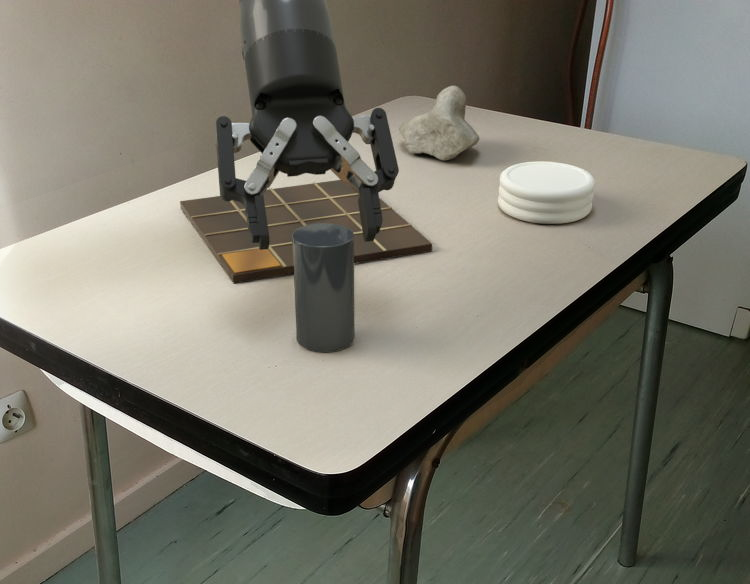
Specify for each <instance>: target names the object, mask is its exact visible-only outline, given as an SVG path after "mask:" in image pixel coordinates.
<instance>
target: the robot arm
mask: <svg viewBox="0 0 750 584" xmlns="http://www.w3.org/2000/svg"><path fill="white" fill-rule="evenodd" d="M238 2H239V10H240V11H239V15H240V16H239V17H240V19H239V22H240V23H239V26H240V28H239V29H240V39H241V45H242V46H241V55H242V59H243V61H244V66H245V67H244V68H245V73H246V74H245V75H246V80H247V87H248V94H249V95H248V96H249V101H250V108H251V119H250V120H249V122H232V120H231V118H229V117H228V116H225V115H224V116H223V115H222V116H219V117H218V118H217V119H216V122H215V145H216V147H215V148H216V156H217V157H216V159H217V161H216V162H217V172H218V186H219V187H218V188H219V196H220V197H221V198H222V199H223V200H224V201H232V200H234V201H238V202H240V203H242V204H243V205H244V207H245V211H246V218H247V225H248V232H249V238H250V240H251V241H252V243H258V244H259V249H260V250H264V249H269V231H268V224H267V217H266V210H265V203H264V196H263V195H264V193H265V191H266V190H268V189H269V188H271V186H272V184H273V183H274V181H275V179H276V178H277V176H278V175H279V173H283V174H285V175H286V176H287V177H288V178H289V177H290V178H291V177H299V176H302V175H305V174H310V175H315V176H319V175H326V173H327V172H328V171H331V172H332V173H333V174H334V175H335V176H336V177H337V178H338V180H341V181H342V182H346V183H348V184H349V185H350V186H351V187H352V188H353V189H354V190H355V191H356V192H357V193H358V194H359V198H358V206H359V212H360V218H361V225H362V231H363V237H364V241H365V242H368V241H374V238H375V236H376V234H378V233H379V231H380V228H381V225H382V221H383V219H382V213H381V206H380V200H379V198H380V194H379V193H380V192H382V191H390V190H392V189H393V187H394V185H395V181H396V179H397V177H398V175H399V171H400V168H399V164H398V160H397V156H396V151H395V147H394V143H393V137H392V134H391V129H390V125H389V124H390V123H389V121H388V117H387V112H386V110H385V109H383V108H381V107H375V108H374V109H373V110H372V111H371V114H365V115H356V116H355V115H354V116H352V114H350V112H349V110H348V108H347V106H346V104H345V97H344V96H345V95H344V91H343V84H342V78H341V72H340V66H339V65H340V64H339V58H338V53H337V52H338V51H337V47H336V40H335V34H334V33H335V32H334V26H333V22H332V18H331V14H330V10H329V7H328V4H327V0H238ZM353 134H357V135H359V136H360V138H361V140H362V141H363V143H364V144H365V145H370V149H371V154H372V159H373V163H374V167H375V168H374V169H375V171H374V170H372V168H371V167H370V166H369V165H368V164H367V163H366V162H365V161H364V160H363V159H362V157H361V155H360V152H358V150H357V149H356V148H354V146H353V145H352V144H351V143H350V142H349V141H350V140H351V137H352V135H353ZM247 140H249V141H250V143H251V144H252V145H253V146H254V147H255V148H256V149H257V150H258V151H259V152H260V153H261V154H260V156H259V158H258V160H257V162H256V165H255V166H254V168H253V170H252V171H251V173H250V175H249V176H248V178H247V180H244V179H241V178H237V177H236V176H237V175H236V164H235V154H237V153H239V152H240V151H241V150H242V149H243V143H244V142H246V141H247Z"/></svg>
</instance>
